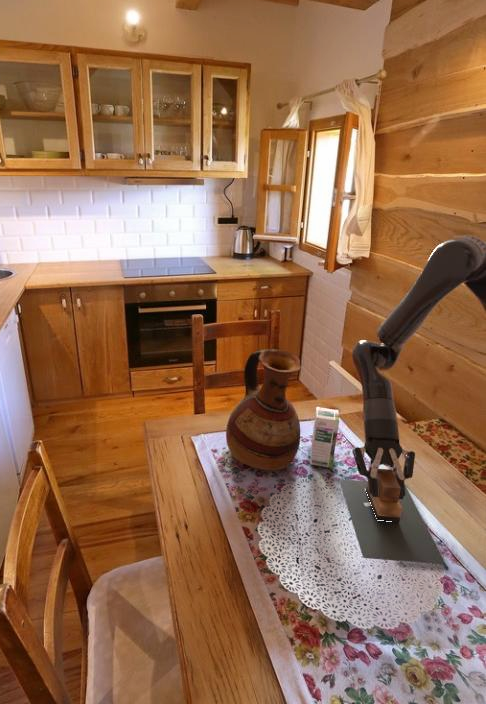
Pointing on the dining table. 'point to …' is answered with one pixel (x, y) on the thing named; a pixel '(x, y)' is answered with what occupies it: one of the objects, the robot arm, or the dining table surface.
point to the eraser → (386, 497)
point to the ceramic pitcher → (266, 414)
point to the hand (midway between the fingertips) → (387, 497)
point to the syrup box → (324, 437)
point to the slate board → (389, 529)
